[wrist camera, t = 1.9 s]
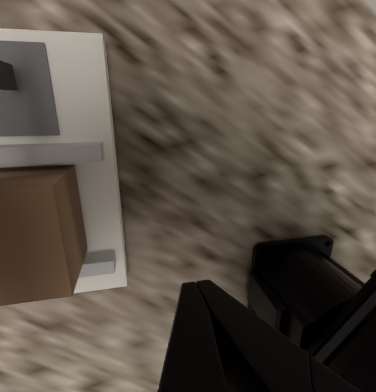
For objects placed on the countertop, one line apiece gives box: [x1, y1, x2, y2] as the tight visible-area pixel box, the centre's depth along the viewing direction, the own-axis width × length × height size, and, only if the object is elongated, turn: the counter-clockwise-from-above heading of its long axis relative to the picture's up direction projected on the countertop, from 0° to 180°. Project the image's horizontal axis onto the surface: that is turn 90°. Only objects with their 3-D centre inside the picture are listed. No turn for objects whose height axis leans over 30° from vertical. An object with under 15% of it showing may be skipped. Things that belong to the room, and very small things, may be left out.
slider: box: [0, 60, 88, 306], centre depth 11 cm, size 4×10×4 cm, turn 0°
